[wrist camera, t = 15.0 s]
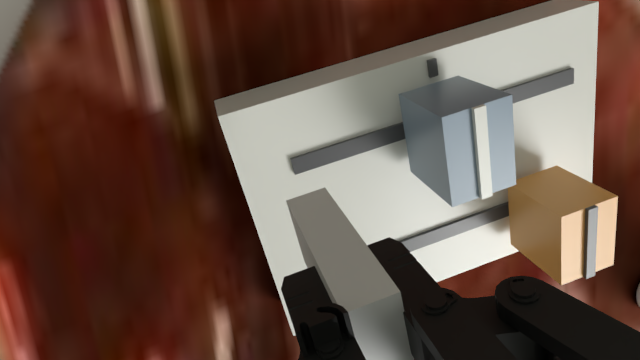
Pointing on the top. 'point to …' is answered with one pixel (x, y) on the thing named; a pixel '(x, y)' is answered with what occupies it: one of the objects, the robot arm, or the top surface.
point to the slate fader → (460, 138)
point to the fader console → (390, 144)
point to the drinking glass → (638, 295)
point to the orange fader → (563, 223)
